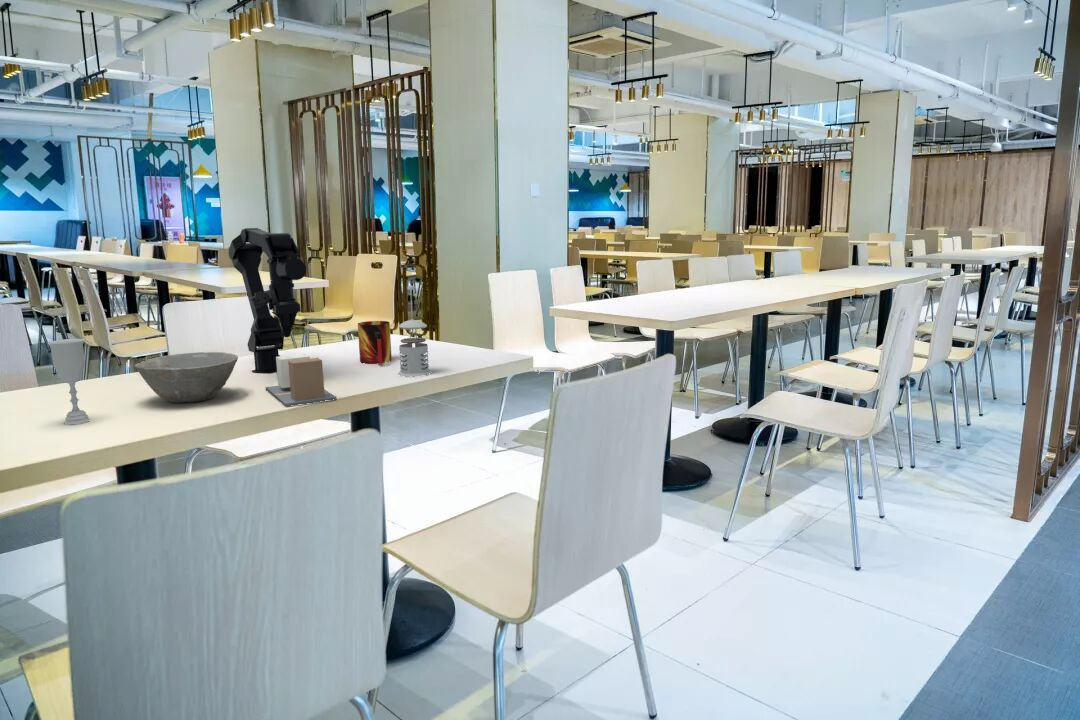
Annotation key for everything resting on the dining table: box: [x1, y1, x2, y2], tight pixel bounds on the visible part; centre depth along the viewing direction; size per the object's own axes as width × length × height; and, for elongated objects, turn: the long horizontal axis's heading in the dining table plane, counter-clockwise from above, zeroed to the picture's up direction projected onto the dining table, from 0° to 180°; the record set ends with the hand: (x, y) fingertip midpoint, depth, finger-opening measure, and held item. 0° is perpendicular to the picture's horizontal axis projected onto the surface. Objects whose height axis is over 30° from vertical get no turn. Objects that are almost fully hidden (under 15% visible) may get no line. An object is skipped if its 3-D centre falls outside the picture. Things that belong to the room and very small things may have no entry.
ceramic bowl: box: [134, 351, 239, 404], centre depth 183 cm, size 22×23×10 cm
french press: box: [397, 285, 432, 378], centre depth 209 cm, size 10×12×25 cm
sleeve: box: [276, 353, 311, 388], centre depth 189 cm, size 5×7×7 cm
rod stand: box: [265, 357, 337, 407], centre depth 186 cm, size 22×12×10 cm, turn 32°
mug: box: [357, 320, 393, 365], centre depth 228 cm, size 10×14×12 cm
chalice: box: [47, 338, 91, 425], centre depth 163 cm, size 7×7×18 cm
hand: (287, 337), depth 204 cm, fingers closed
